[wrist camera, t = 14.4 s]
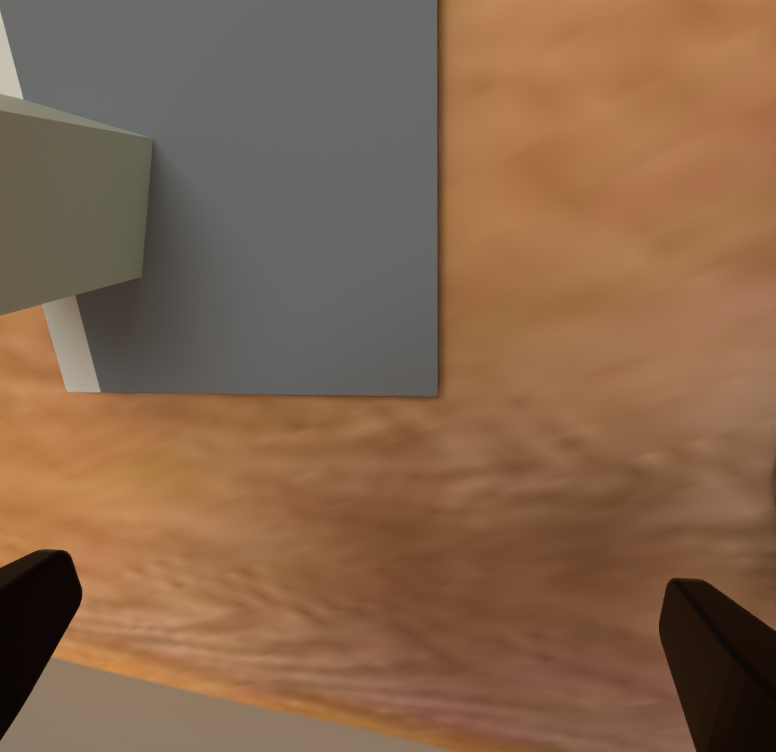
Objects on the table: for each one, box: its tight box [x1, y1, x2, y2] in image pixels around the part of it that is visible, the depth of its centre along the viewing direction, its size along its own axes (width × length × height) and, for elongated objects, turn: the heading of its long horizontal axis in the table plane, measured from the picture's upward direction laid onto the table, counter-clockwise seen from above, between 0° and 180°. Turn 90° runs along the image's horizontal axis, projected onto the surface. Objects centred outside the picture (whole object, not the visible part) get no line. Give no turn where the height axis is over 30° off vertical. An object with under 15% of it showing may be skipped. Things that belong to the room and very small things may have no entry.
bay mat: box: [0, 0, 438, 396], centre depth 18 cm, size 16×14×1 cm
